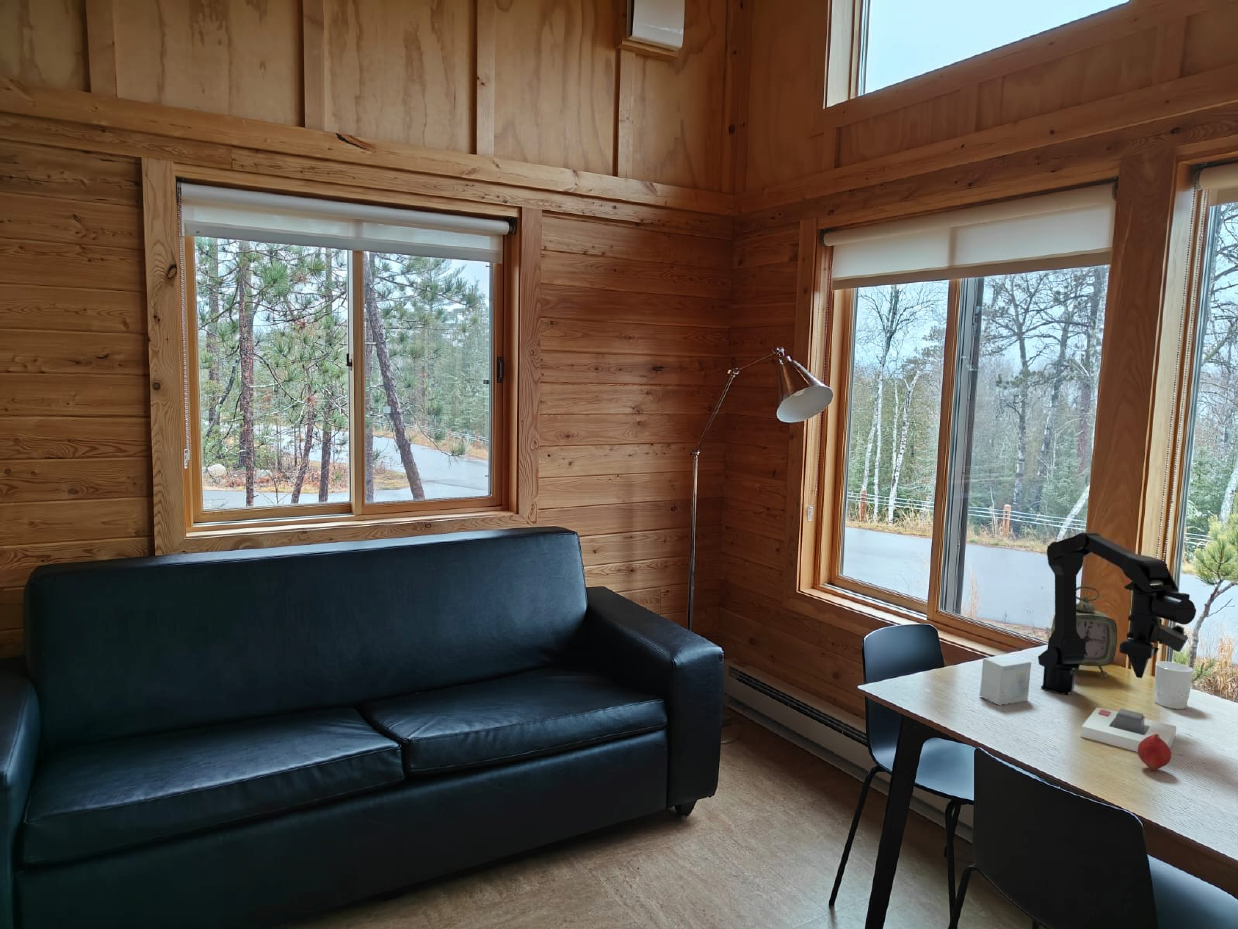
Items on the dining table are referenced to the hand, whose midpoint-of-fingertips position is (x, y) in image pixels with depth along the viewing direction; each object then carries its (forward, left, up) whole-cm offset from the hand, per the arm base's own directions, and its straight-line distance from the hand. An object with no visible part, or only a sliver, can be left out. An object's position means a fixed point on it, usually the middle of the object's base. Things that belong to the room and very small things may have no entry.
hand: (1139, 677), depth 191 cm
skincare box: (-28, -4, -12) cm, 31 cm away
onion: (+7, -24, -12) cm, 28 cm away
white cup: (+4, +24, -12) cm, 27 cm away
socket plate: (0, -8, -12) cm, 14 cm away
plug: (0, -8, -11) cm, 14 cm away
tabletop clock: (-19, +34, -12) cm, 41 cm away
